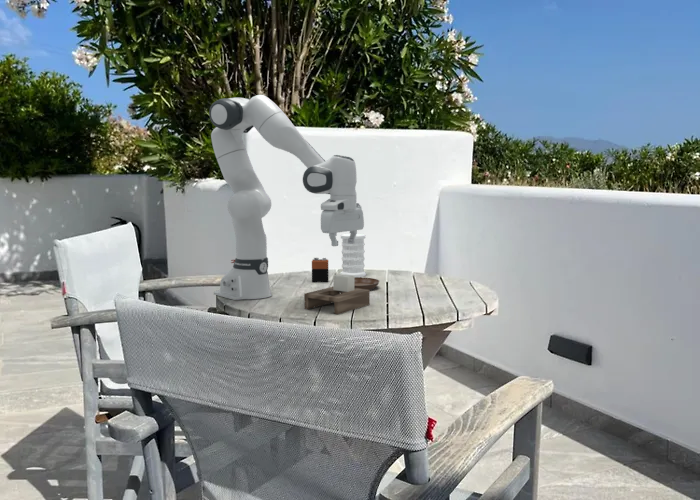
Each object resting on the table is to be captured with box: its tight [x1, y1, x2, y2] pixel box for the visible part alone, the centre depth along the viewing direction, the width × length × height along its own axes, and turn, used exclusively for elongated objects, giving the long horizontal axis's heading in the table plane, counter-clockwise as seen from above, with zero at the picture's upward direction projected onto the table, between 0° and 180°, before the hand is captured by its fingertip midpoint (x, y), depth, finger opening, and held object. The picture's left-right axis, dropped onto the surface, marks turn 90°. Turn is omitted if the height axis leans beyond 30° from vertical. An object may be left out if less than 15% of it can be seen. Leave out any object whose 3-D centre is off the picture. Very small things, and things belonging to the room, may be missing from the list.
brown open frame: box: [303, 286, 371, 315], centre depth 208 cm, size 14×18×5 cm
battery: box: [311, 257, 329, 283], centre depth 257 cm, size 4×7×10 cm, turn 90°
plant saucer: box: [354, 277, 380, 291], centre depth 243 cm, size 18×18×3 cm
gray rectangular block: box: [332, 273, 355, 292], centre depth 210 cm, size 6×4×8 cm
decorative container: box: [339, 233, 367, 278], centre depth 273 cm, size 12×12×18 cm
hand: (343, 244), depth 208 cm, fingers open, 8 cm apart
